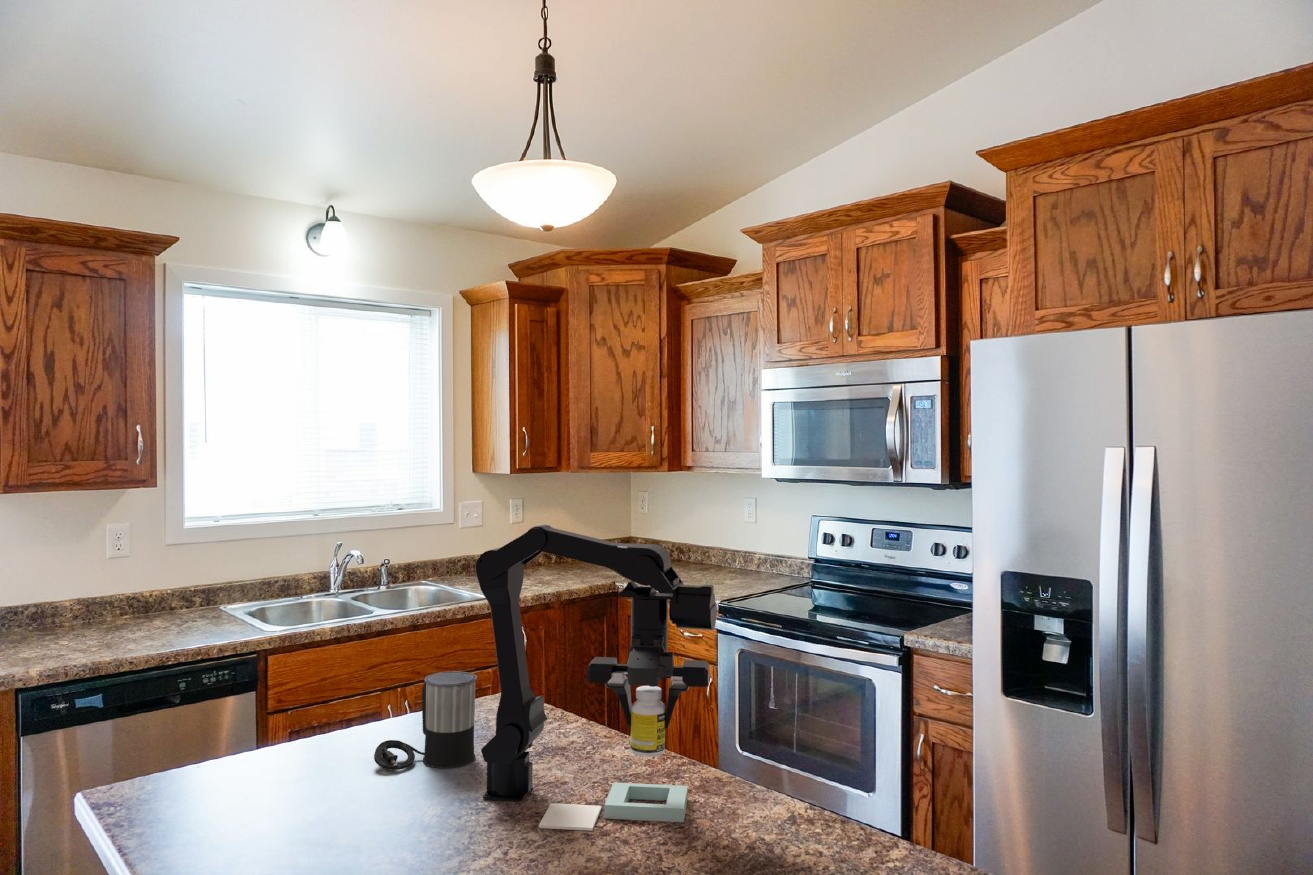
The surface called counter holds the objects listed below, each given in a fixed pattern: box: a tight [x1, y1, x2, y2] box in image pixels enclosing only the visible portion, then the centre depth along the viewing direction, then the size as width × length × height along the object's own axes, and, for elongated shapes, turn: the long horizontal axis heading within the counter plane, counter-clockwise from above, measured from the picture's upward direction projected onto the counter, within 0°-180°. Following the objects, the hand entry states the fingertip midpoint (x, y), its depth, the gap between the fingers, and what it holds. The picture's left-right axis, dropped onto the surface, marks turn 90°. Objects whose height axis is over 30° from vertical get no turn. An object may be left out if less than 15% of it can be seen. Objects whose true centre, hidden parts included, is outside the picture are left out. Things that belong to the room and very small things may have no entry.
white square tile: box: [538, 803, 603, 832], centre depth 129 cm, size 8×8×1 cm
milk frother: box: [373, 670, 478, 771], centre depth 152 cm, size 14×16×15 cm
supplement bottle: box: [630, 685, 667, 758], centre depth 134 cm, size 5×5×10 cm
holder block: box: [603, 781, 689, 823], centre depth 133 cm, size 12×9×2 cm
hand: (648, 726), depth 134 cm, fingers closed on supplement bottle, 5 cm apart
